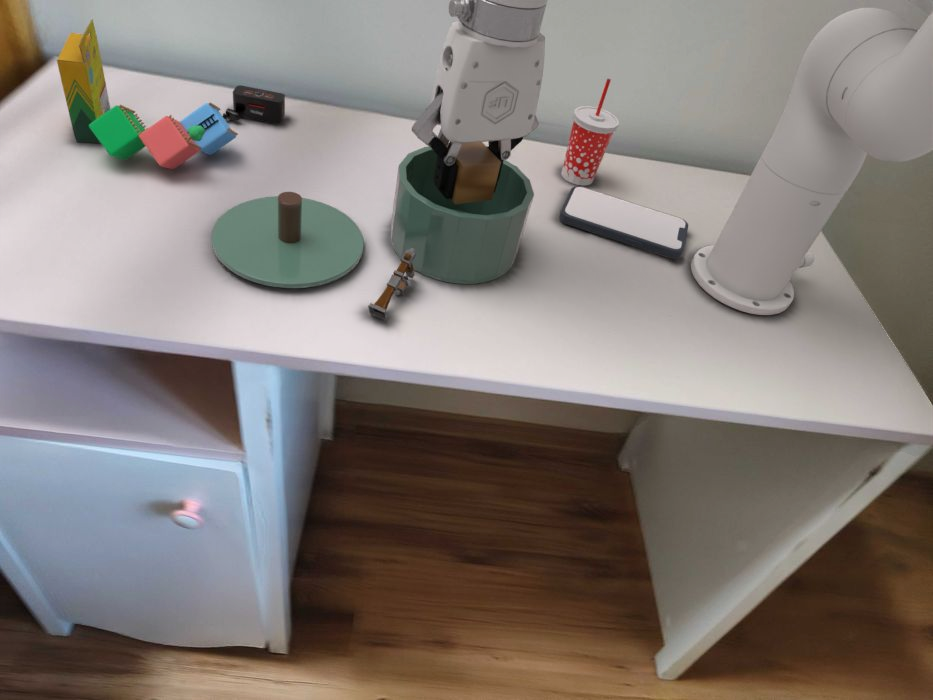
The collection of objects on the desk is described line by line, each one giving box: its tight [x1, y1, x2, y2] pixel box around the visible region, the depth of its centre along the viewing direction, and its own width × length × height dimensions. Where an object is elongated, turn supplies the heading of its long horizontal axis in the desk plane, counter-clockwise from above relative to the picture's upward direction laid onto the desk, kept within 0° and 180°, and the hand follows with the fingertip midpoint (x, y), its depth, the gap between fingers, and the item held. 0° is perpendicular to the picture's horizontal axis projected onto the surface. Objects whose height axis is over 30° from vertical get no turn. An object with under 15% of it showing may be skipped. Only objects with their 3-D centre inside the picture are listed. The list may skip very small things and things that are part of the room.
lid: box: [211, 191, 365, 289], centre depth 72 cm, size 16×16×6 cm
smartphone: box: [558, 185, 689, 260], centre depth 89 cm, size 9×2×16 cm
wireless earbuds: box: [222, 85, 286, 125], centre depth 91 cm, size 5×7×3 cm, turn 87°
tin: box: [389, 145, 535, 285], centre depth 77 cm, size 15×15×8 cm
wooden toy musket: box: [367, 248, 416, 321], centre depth 70 cm, size 2×8×4 cm, turn 157°
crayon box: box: [56, 19, 112, 144], centre depth 80 cm, size 7×3×12 cm, turn 10°
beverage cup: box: [560, 78, 620, 187], centre depth 92 cm, size 6×6×14 cm
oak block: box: [447, 142, 501, 204], centre depth 74 cm, size 5×5×5 cm
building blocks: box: [89, 101, 239, 170], centre depth 80 cm, size 8×8×12 cm
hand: (464, 187), depth 75 cm, fingers closed on oak block, 4 cm apart
